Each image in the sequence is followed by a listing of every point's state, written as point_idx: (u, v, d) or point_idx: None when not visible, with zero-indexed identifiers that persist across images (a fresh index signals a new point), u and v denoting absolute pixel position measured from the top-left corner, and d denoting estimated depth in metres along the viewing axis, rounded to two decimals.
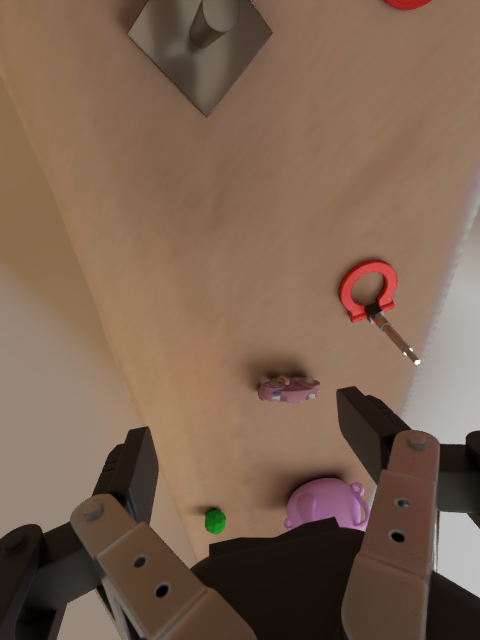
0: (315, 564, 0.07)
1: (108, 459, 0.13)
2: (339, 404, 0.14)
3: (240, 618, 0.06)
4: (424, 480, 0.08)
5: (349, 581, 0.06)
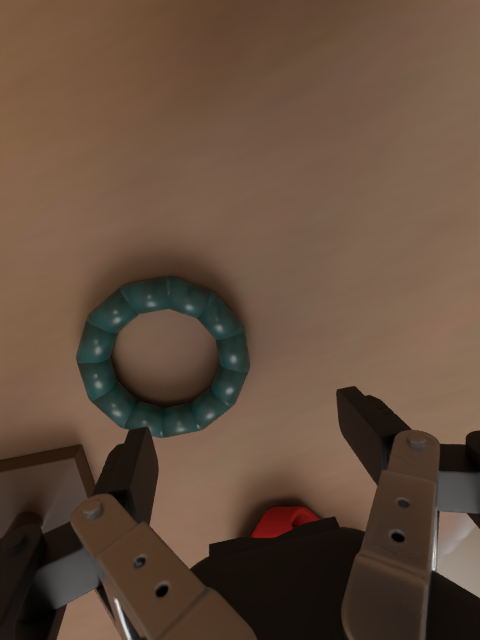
0: (315, 564, 0.07)
1: (108, 459, 0.13)
2: (339, 404, 0.14)
3: (240, 618, 0.06)
4: (424, 480, 0.08)
5: (349, 581, 0.06)
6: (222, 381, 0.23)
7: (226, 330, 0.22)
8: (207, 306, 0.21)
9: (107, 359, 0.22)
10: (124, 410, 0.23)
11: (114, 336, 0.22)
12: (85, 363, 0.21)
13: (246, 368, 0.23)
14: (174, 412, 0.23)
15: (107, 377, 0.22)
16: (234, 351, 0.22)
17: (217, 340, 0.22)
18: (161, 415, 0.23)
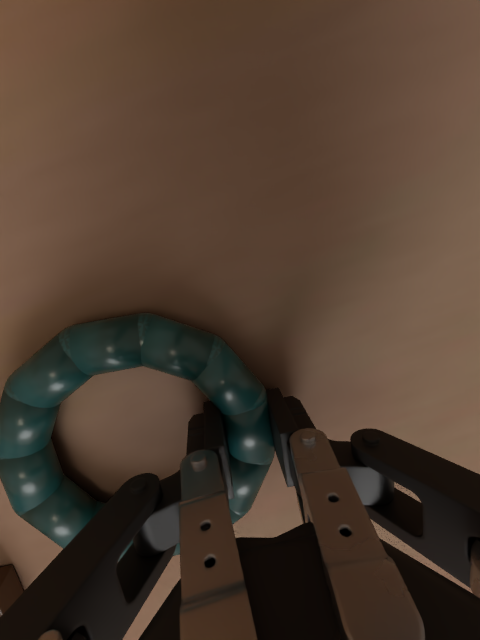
0: (315, 564, 0.07)
1: (190, 426, 0.14)
2: None
3: (256, 634, 0.06)
4: (337, 470, 0.09)
5: (349, 581, 0.06)
6: None
7: (239, 402, 0.13)
8: (208, 364, 0.13)
9: (43, 448, 0.13)
10: (72, 528, 0.14)
11: (53, 411, 0.13)
12: (2, 459, 0.13)
13: (270, 458, 0.14)
14: None
15: (41, 478, 0.13)
16: (252, 434, 0.14)
17: (224, 415, 0.14)
18: None
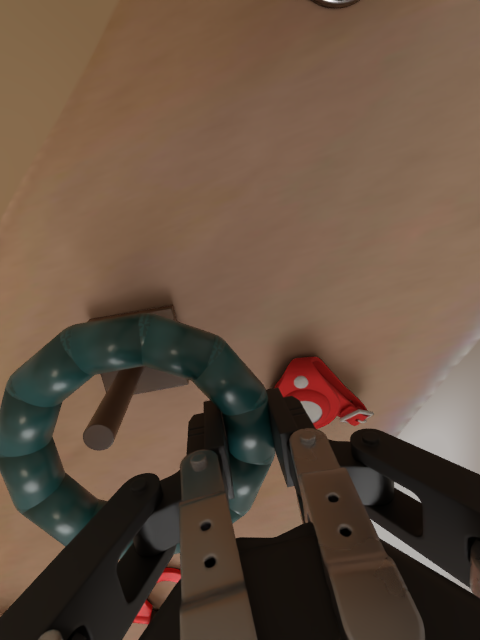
0: (315, 564, 0.07)
1: (190, 426, 0.14)
2: None
3: (256, 633, 0.06)
4: (337, 470, 0.09)
5: (349, 581, 0.06)
6: None
7: (239, 402, 0.13)
8: (208, 365, 0.13)
9: (44, 446, 0.14)
10: (73, 526, 0.14)
11: (54, 410, 0.13)
12: (4, 457, 0.13)
13: (270, 458, 0.14)
14: None
15: (43, 476, 0.13)
16: (252, 434, 0.14)
17: (224, 415, 0.14)
18: None
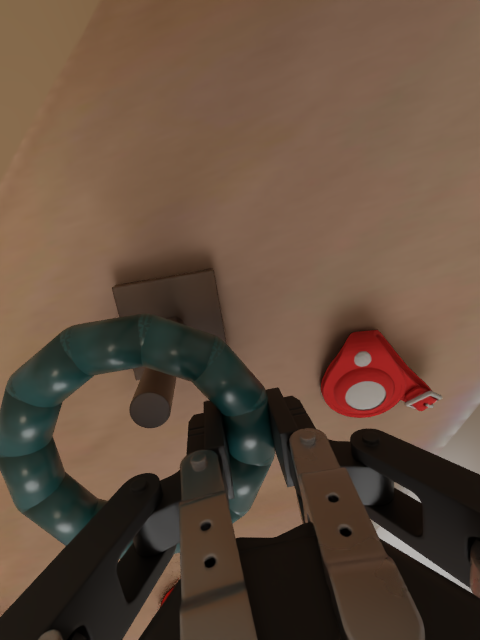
0: (315, 564, 0.07)
1: (190, 426, 0.14)
2: None
3: (256, 633, 0.06)
4: (337, 470, 0.09)
5: (349, 581, 0.06)
6: None
7: (239, 403, 0.13)
8: (208, 365, 0.13)
9: (44, 446, 0.14)
10: (73, 525, 0.14)
11: (54, 411, 0.13)
12: (4, 457, 0.13)
13: (270, 459, 0.14)
14: None
15: (43, 476, 0.14)
16: (251, 435, 0.14)
17: (224, 416, 0.14)
18: None
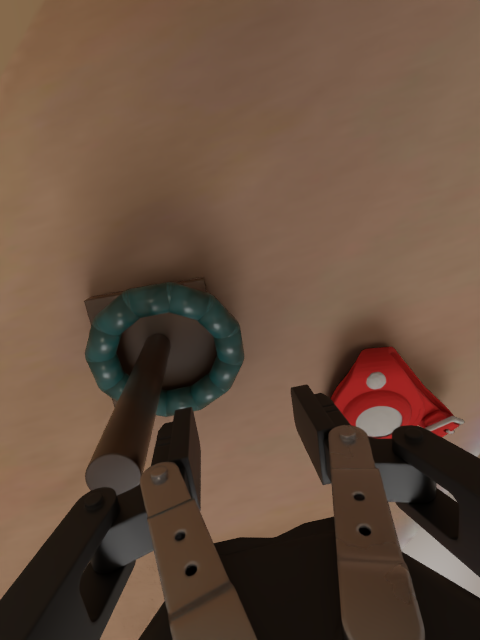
0: (315, 564, 0.07)
1: (159, 436, 0.13)
2: (293, 402, 0.15)
3: (251, 626, 0.06)
4: (369, 470, 0.09)
5: (349, 581, 0.06)
6: (219, 372, 0.26)
7: (223, 331, 0.24)
8: (206, 312, 0.23)
9: (114, 356, 0.24)
10: None
11: (119, 337, 0.23)
12: (94, 362, 0.23)
13: (241, 361, 0.25)
14: (176, 396, 0.26)
15: (115, 372, 0.24)
16: (230, 348, 0.24)
17: (215, 338, 0.24)
18: (165, 399, 0.26)
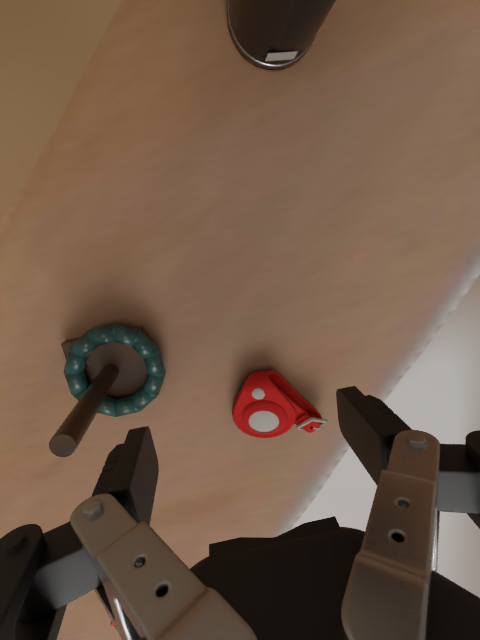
0: (315, 564, 0.07)
1: (108, 459, 0.13)
2: (339, 404, 0.14)
3: (240, 618, 0.06)
4: (424, 480, 0.08)
5: (349, 581, 0.06)
6: (148, 382, 0.40)
7: (147, 353, 0.39)
8: (136, 340, 0.39)
9: (81, 371, 0.39)
10: None
11: (85, 358, 0.39)
12: (69, 374, 0.39)
13: (161, 374, 0.40)
14: (122, 401, 0.41)
15: (81, 382, 0.39)
16: (153, 365, 0.39)
17: (144, 359, 0.40)
18: (114, 403, 0.40)
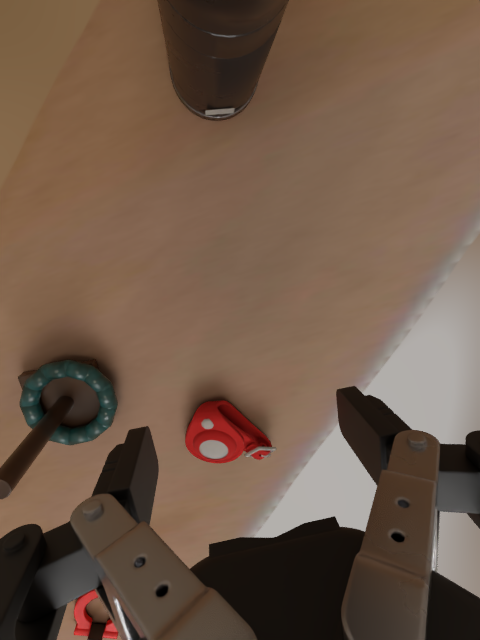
0: (315, 564, 0.07)
1: (108, 459, 0.13)
2: (339, 404, 0.14)
3: (240, 618, 0.06)
4: (424, 480, 0.08)
5: (349, 581, 0.06)
6: (100, 413, 0.42)
7: (98, 387, 0.41)
8: (87, 375, 0.41)
9: (36, 403, 0.41)
10: None
11: (39, 391, 0.41)
12: (23, 406, 0.41)
13: (113, 406, 0.42)
14: (76, 431, 0.43)
15: (36, 413, 0.41)
16: (104, 398, 0.42)
17: (96, 392, 0.42)
18: (68, 432, 0.43)
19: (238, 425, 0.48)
